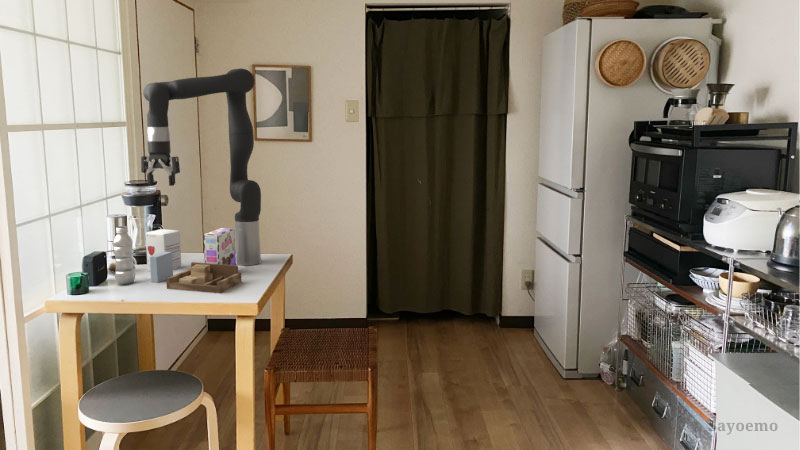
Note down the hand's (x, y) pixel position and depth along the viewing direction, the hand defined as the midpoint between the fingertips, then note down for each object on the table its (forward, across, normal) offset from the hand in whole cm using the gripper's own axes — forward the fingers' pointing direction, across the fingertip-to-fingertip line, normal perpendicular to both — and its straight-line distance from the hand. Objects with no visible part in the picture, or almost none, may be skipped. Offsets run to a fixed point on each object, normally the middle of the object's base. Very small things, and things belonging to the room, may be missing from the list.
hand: (161, 185), depth 233 cm
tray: (+33, -24, +13) cm, 43 cm away
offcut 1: (+32, -20, +16) cm, 41 cm away
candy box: (+33, -19, -6) cm, 39 cm away
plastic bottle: (+33, +6, +15) cm, 37 cm away
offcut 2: (+29, -21, +10) cm, 37 cm away
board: (+33, -5, +10) cm, 35 cm away
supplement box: (+33, +5, -6) cm, 34 cm away
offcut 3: (+32, -21, +10) cm, 40 cm away
